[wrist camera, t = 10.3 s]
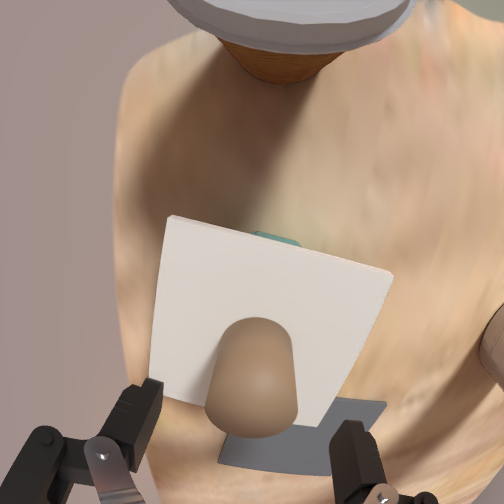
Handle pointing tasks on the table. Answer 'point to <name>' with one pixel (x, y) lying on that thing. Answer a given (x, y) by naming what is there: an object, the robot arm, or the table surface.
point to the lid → (257, 326)
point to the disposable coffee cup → (293, 31)
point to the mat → (299, 442)
